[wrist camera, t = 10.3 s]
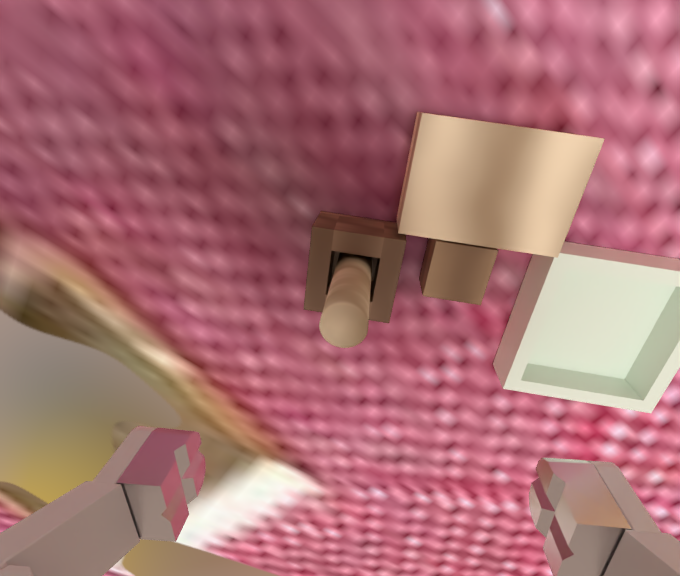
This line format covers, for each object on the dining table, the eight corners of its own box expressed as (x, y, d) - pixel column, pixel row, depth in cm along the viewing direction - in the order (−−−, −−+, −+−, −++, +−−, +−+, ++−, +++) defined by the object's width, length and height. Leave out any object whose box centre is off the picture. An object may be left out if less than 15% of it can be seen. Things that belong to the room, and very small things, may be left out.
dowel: (336, 271, 30) (316, 343, 21) (341, 239, 29) (321, 301, 20) (369, 276, 30) (363, 351, 21) (375, 245, 29) (371, 309, 20)
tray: (492, 364, 32) (503, 388, 30) (538, 237, 28) (556, 252, 25) (627, 386, 32) (650, 413, 29) (697, 261, 27) (733, 279, 25)
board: (396, 216, 28) (398, 233, 25) (416, 111, 25) (422, 112, 22) (535, 238, 28) (557, 257, 25) (572, 133, 25) (604, 138, 21)
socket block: (312, 285, 31) (303, 309, 27) (321, 211, 28) (312, 226, 25) (388, 297, 31) (389, 323, 27) (403, 223, 28) (406, 241, 25)
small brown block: (419, 278, 30) (422, 295, 27) (431, 228, 28) (436, 241, 25) (471, 286, 30) (480, 305, 27) (487, 236, 28) (498, 250, 25)
